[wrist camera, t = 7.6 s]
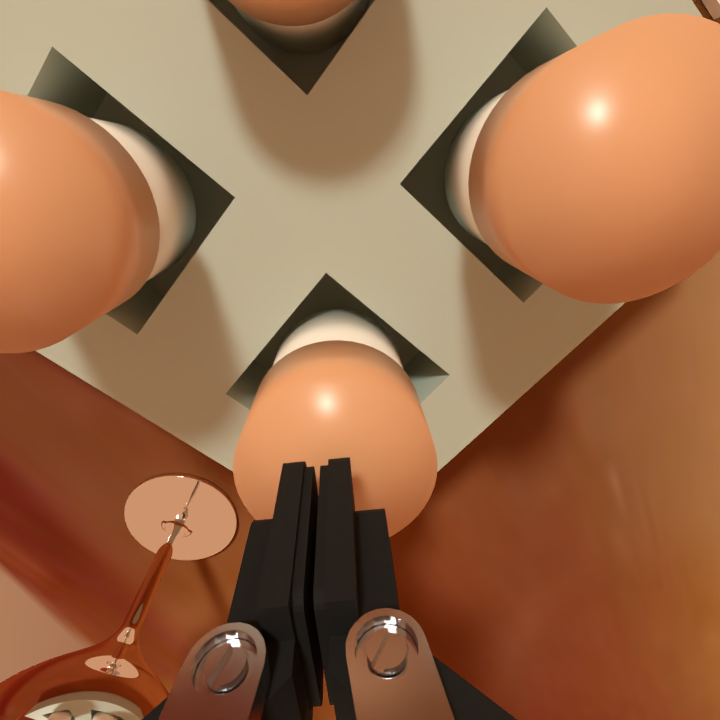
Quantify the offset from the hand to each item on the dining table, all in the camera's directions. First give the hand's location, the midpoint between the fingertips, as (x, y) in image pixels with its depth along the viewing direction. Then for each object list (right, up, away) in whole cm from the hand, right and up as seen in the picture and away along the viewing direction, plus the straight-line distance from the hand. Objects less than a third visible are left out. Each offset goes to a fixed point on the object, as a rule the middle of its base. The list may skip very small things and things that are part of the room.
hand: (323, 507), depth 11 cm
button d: (-8, +9, +5) cm, 13 cm away
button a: (+7, +10, +5) cm, 13 cm away
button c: (0, +3, +7) cm, 8 cm away
